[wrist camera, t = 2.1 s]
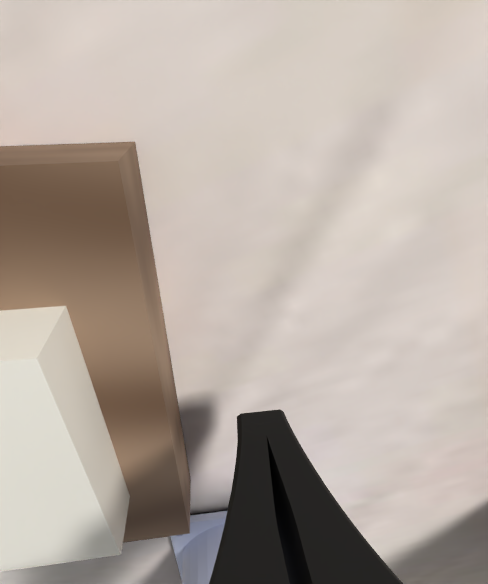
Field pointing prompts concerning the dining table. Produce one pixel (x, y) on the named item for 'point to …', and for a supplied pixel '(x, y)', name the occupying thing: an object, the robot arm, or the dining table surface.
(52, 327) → the cream block
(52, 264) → the walnut board
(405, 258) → the dining table surface
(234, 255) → the dining table surface
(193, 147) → the dining table surface
